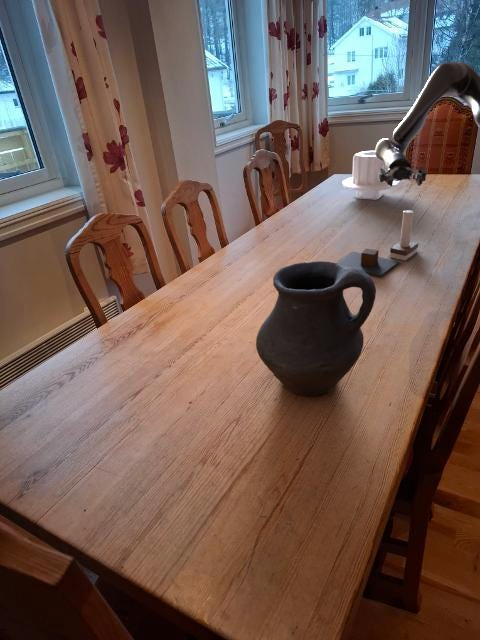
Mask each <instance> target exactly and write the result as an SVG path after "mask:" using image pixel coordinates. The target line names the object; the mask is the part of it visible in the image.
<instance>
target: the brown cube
mask: <svg viewBox="0 0 480 640" xmlns="http://www.w3.org/2000/svg"><path fill="white" fill-rule="evenodd" d="M379 251H380V250H379V249H372V248H364V250H363V251H361V252H360V253H361V265H365V266H371V267H374V266H375V265H376V263H377V262H378V257H379Z"/></svg>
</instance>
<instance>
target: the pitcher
mask: <svg viewBox="0 0 480 640" xmlns="http://www.w3.org/2000/svg"><path fill="white" fill-rule="evenodd" d="M336 263H337V262H334V261H323V260H322V261H320V260H319V261H318V260H317V261H309V262H305V261H304V262H298V263H292V264H290V265H286V266H283V267H281V268H280V269H278V270H276V272H275V273H274V275H273V278H272V281H273V282H272V284H273V285H272V286H273V287H274V289H275V290H276V291H277V292H278V293H277V294H278V296H277V299H276V302H275V304H274V306H273V309H272V310H271V311H270V313H269V315H268V316H267V317H266V319H265V320H264V321H263V323H262V324H261V325H260V327H259V330H258V331H257V334H256V338H255V341H256V342H255V348H256V351H257V354H258V356H259V358H260V360H261V361H262V363H263V364H264V366H265V367H267V369H268V370H269V371H270V372H271V373H272V374H273V375H274V377H275V378H276V379H277V380H278V381H279V382H280V383H281V384H282V386H283V387H284V388H285V389H286V390H288V391H290V392H292V393H293V394H295V395H299V396H303V397H321V396H324V395H328V394H329V393H330V392H331V391H332V390H333V388H335V387H336V385H337V384H338V383H339V382H340V381H341V380H342V379H343V378H344V377H345V376H346V375H348V373H349V372H350V371H351V370H352V368H353V367H354V366H355V365H356V363H357V362H358V360H359V358H360V357H361V354H362V351H363V347H364V338H365V337H364V333H363V331H362V326H363V325H364V323H365V322H366V321H367V319H368V318H369V316H370V314H371V312H372V310H373V308H374V305H375V301H376V296H377V287H376V284H375V282H374V280H373V278H371V275H370V274H367V273H366V272H364V271H363V270H360V269H357V268H353V267H346V266H342V265H339V264H336ZM350 288H357V289H360V290H361V298H362V303H361V305H360V306H359V310H358V312H356V314H353V312H351V310H350V308H349V306H348V303H347V302H346V300H345V299H346V298H345V297H344V291H345V290H347V289H350Z"/></svg>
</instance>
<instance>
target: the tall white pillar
mask: <svg viewBox="0 0 480 640" xmlns="http://www.w3.org/2000/svg"><path fill="white" fill-rule="evenodd" d="M413 216H414V211H413V210H411V209H405V210H403V211H402V220H401V222H402V223H401V231H400V241H398V243H396V244H394V245H392V246H391V247H390V248H389V253H390V258H392V259H395V260H396V259H397V260H401V261H407V260H408V259H410V258H411V257H412V256H413V255H415V254H417V252H418V248H419V242H416V241H411V236H412V235H411V233H412V225H413Z"/></svg>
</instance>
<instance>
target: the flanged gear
mask: <svg viewBox="0 0 480 640" xmlns="http://www.w3.org/2000/svg"><path fill="white" fill-rule="evenodd" d="M380 169H383V170H385V171H386V169H385V165H384V163H383V162H381V161H380V160H379V159H378V158H377V157H376V155H375V150H365V151H360V152H357V153H354V155H353V156H352V177H348V178H346V179H344V180H343V181H342V187H343V188H344V189H347V190H352V191H355V198H356V199H361V200H362V199H363V200H374V201H375V200H378V199H379V198H381V197H382V196H383V195H384V191H386V190H391V189H394V188H397V187H398V186H400V181H393V185H392V186H390V185H388V184H387V183H386V181H384V182H380V180H379V170H380Z"/></svg>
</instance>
